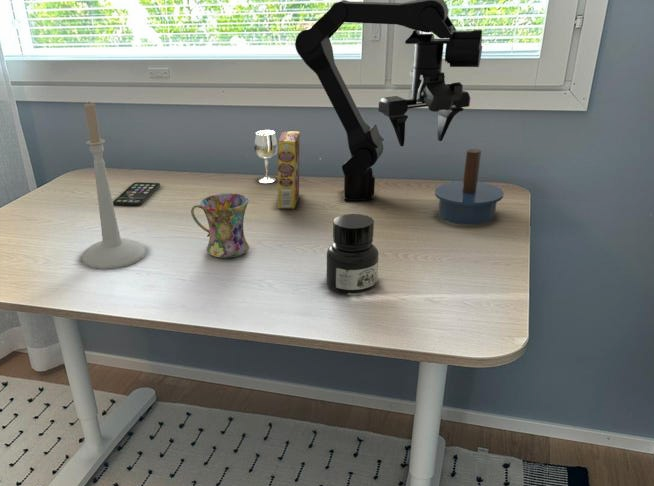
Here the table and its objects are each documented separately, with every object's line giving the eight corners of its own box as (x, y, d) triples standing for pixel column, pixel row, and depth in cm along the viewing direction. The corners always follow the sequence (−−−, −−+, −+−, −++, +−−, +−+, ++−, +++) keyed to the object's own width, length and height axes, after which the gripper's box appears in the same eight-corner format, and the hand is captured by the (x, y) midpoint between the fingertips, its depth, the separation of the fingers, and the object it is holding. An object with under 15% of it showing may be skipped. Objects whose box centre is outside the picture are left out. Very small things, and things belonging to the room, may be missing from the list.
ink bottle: (340, 301, 117) (342, 235, 111) (315, 281, 124) (315, 218, 118) (388, 288, 120) (392, 223, 114) (361, 269, 127) (364, 207, 121)
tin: (443, 227, 142) (445, 204, 139) (434, 208, 152) (436, 186, 149) (499, 226, 141) (503, 203, 138) (487, 207, 151) (490, 184, 148)
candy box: (296, 209, 156) (295, 141, 148) (277, 209, 157) (275, 141, 149) (300, 196, 163) (300, 130, 155) (282, 196, 164) (281, 131, 156)
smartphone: (111, 202, 165) (134, 182, 177) (112, 205, 165) (134, 184, 177) (140, 203, 163) (161, 182, 175) (140, 206, 164) (161, 185, 176)
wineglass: (279, 176, 177) (277, 129, 171) (277, 183, 172) (276, 135, 166) (256, 177, 178) (254, 130, 171) (255, 184, 173) (252, 136, 167)
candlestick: (147, 264, 135) (125, 105, 119) (81, 272, 133) (50, 112, 117) (144, 240, 145) (123, 91, 129) (83, 247, 144) (55, 97, 128)
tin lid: (440, 209, 139) (445, 161, 134) (429, 187, 150) (433, 142, 145) (510, 207, 138) (518, 159, 132) (494, 185, 149) (500, 140, 144)
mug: (257, 245, 139) (255, 195, 134) (240, 264, 132) (237, 211, 127) (204, 239, 144) (200, 190, 138) (185, 257, 136) (179, 206, 131)
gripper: (404, 77, 133) (398, 158, 141) (489, 67, 136) (479, 146, 145) (379, 69, 142) (375, 145, 150) (460, 60, 146) (452, 134, 154)
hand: (420, 143), depth 150 cm, fingers open, 9 cm apart
